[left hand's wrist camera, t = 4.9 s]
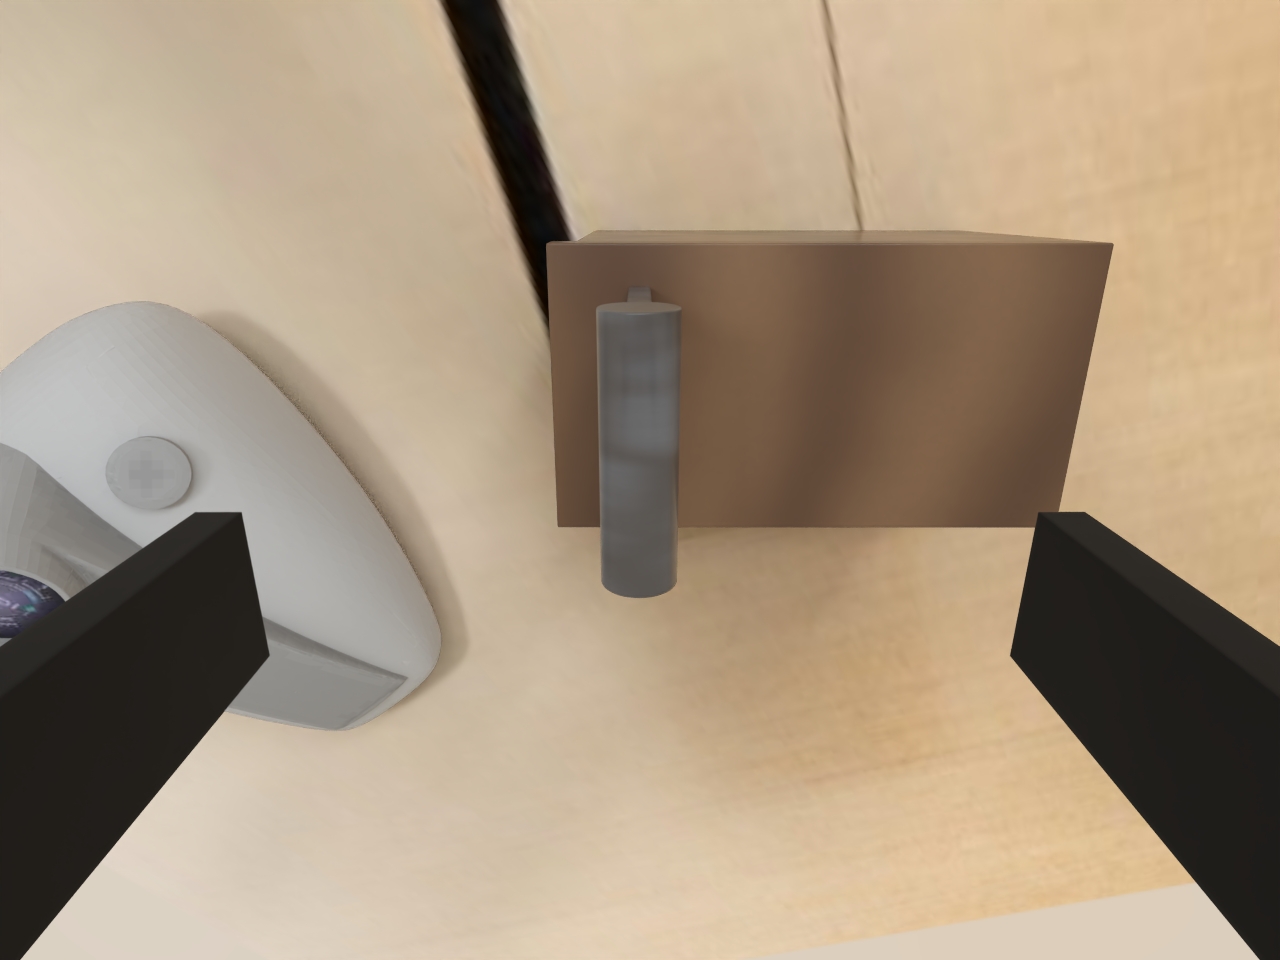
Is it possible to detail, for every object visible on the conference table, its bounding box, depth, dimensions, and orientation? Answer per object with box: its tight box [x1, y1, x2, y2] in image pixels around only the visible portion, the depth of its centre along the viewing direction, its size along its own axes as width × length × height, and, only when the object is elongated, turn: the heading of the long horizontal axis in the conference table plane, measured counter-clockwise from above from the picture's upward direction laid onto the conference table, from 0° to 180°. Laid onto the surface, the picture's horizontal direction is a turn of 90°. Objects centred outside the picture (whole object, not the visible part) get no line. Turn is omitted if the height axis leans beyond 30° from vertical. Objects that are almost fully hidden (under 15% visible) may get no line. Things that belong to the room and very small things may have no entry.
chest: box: [578, 231, 1080, 241], centre depth 32 cm, size 17×10×11 cm, turn 90°
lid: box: [546, 241, 1113, 598], centre depth 22 cm, size 18×10×8 cm, turn 90°
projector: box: [0, 301, 441, 731], centre depth 33 cm, size 22×23×15 cm
